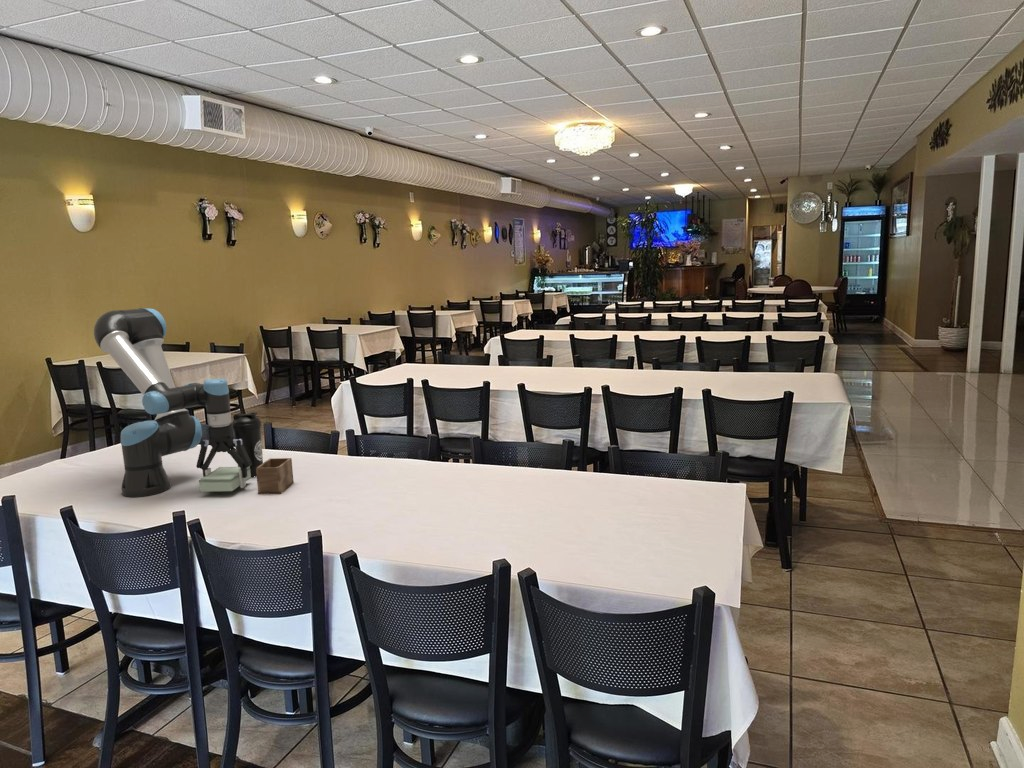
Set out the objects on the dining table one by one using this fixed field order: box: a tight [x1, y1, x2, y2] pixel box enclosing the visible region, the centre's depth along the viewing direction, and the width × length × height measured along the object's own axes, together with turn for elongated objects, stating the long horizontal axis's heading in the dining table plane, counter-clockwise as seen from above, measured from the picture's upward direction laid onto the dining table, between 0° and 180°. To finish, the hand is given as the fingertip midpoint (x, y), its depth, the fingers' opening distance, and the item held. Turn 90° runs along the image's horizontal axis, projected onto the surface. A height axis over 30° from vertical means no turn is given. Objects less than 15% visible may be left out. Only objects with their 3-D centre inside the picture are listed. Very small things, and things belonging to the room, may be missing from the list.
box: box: [256, 457, 295, 495], centre depth 244 cm, size 12×8×9 cm, turn 177°
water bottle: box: [230, 411, 264, 478], centre depth 260 cm, size 10×10×23 cm
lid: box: [198, 466, 252, 493], centre depth 244 cm, size 15×11×4 cm
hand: (226, 487), depth 244 cm, fingers closed on lid, 11 cm apart
